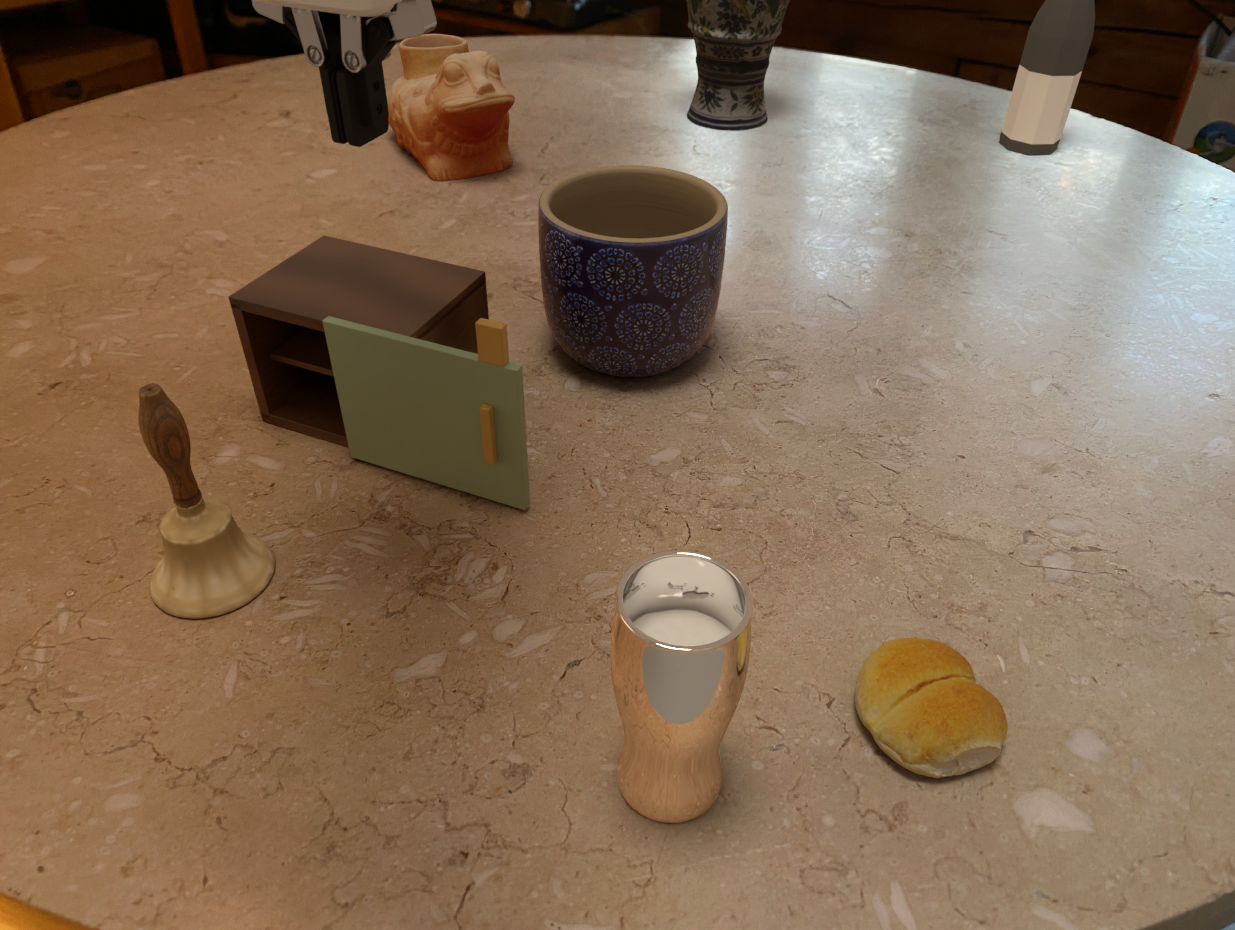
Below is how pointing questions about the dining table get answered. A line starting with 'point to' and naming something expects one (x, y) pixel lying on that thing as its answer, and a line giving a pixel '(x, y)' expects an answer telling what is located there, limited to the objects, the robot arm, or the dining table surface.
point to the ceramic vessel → (450, 108)
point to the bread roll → (929, 708)
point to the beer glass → (677, 678)
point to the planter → (631, 266)
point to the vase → (732, 60)
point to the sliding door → (434, 407)
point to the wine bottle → (1048, 76)
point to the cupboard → (353, 291)
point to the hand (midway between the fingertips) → (361, 136)
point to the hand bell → (197, 528)
